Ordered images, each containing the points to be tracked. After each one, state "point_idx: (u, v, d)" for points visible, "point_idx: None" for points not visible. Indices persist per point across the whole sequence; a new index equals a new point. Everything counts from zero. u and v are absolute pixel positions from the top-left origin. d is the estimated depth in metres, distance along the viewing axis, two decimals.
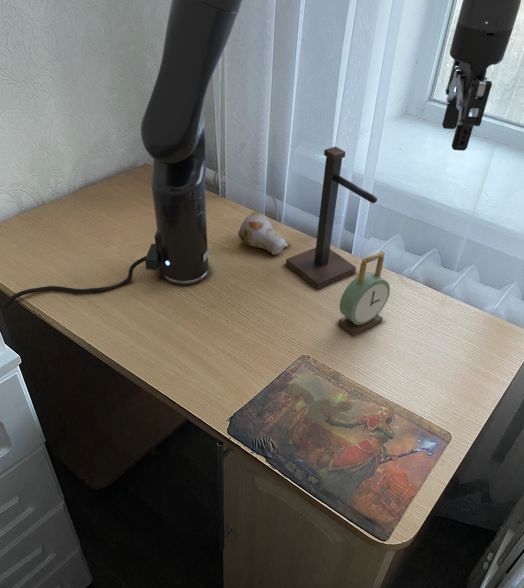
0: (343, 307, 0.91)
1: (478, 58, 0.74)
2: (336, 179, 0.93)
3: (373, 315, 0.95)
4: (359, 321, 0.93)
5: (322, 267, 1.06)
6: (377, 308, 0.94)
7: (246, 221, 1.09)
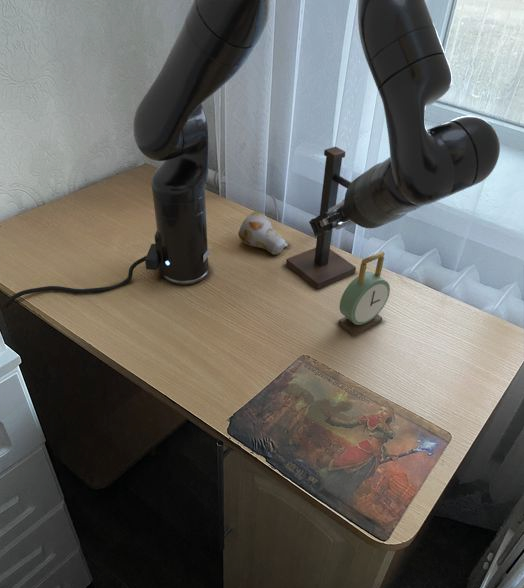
0: (343, 307, 0.91)
1: (346, 206, 0.74)
2: (336, 179, 0.93)
3: (373, 315, 0.95)
4: (359, 321, 0.93)
5: (322, 267, 1.06)
6: (377, 308, 0.94)
7: (246, 221, 1.09)
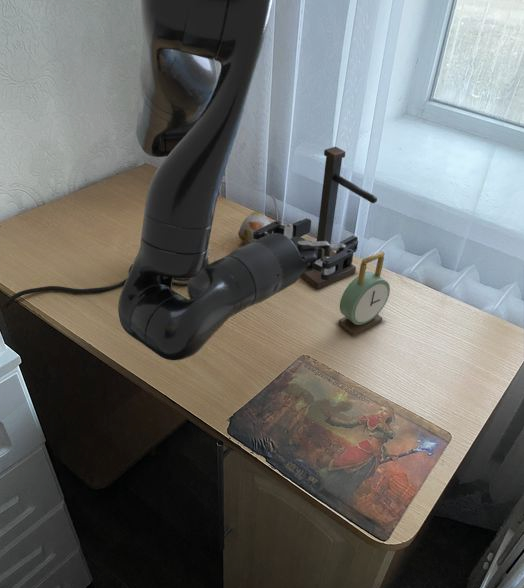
0: (343, 307, 0.91)
1: None
2: (336, 179, 0.93)
3: (373, 315, 0.95)
4: (359, 321, 0.93)
5: None
6: (377, 308, 0.94)
7: (246, 221, 1.09)
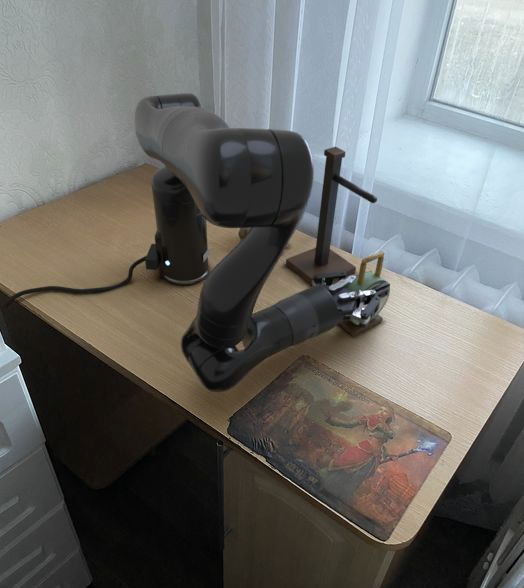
0: None
1: None
2: (336, 179, 0.93)
3: None
4: None
5: (322, 267, 1.06)
6: None
7: None
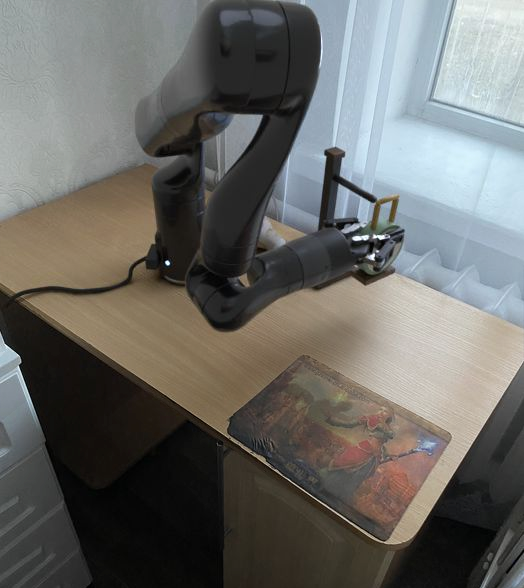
0: None
1: None
2: (336, 179, 0.93)
3: (386, 265, 0.90)
4: (372, 270, 0.89)
5: None
6: None
7: None
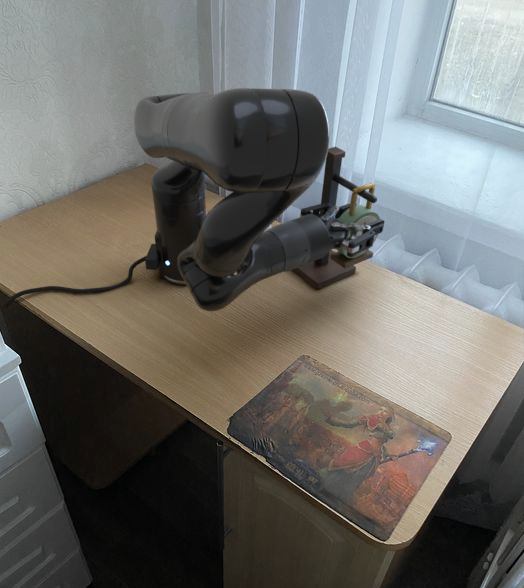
0: None
1: None
2: (336, 179, 0.93)
3: None
4: None
5: (322, 267, 1.06)
6: None
7: None
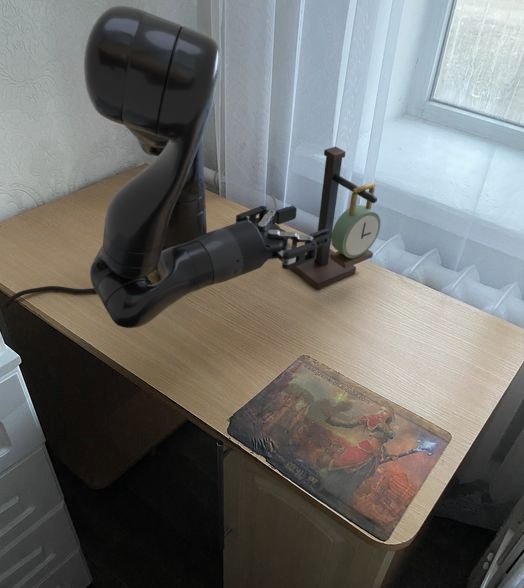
0: (335, 239, 0.94)
1: None
2: (336, 179, 0.93)
3: (364, 249, 0.97)
4: (350, 254, 0.96)
5: (322, 267, 1.06)
6: (368, 242, 0.97)
7: None
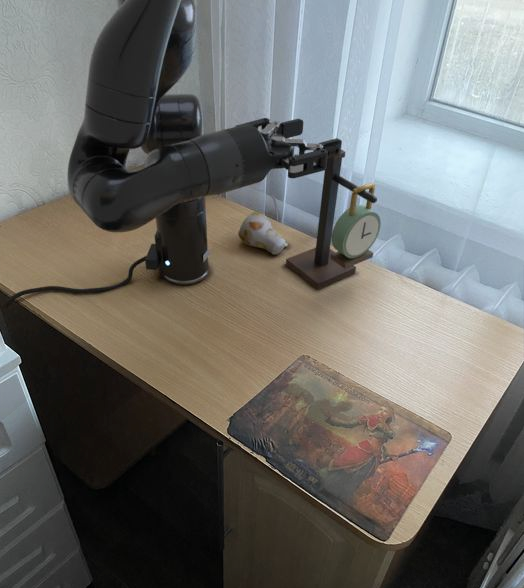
0: (335, 239, 0.94)
1: None
2: (336, 179, 0.93)
3: (364, 249, 0.97)
4: (350, 254, 0.96)
5: (322, 267, 1.06)
6: (368, 242, 0.97)
7: (246, 221, 1.09)
